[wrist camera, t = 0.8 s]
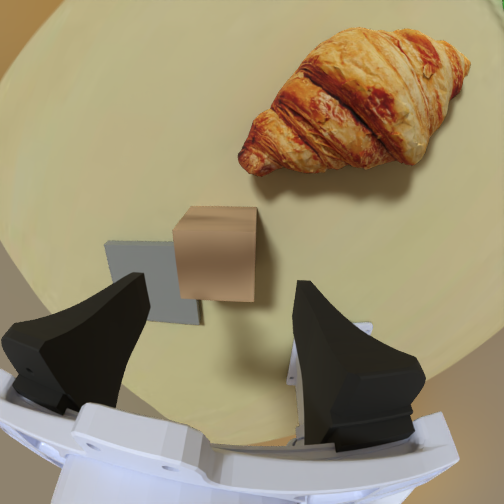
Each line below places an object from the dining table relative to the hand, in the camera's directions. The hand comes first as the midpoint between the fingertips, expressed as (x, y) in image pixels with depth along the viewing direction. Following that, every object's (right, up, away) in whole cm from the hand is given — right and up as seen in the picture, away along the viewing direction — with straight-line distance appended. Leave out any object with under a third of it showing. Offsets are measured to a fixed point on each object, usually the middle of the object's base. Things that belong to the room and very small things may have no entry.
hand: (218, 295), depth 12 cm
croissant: (+10, +13, +4) cm, 17 cm away
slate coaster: (-7, -1, +11) cm, 13 cm away
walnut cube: (-1, +3, +9) cm, 10 cm away
